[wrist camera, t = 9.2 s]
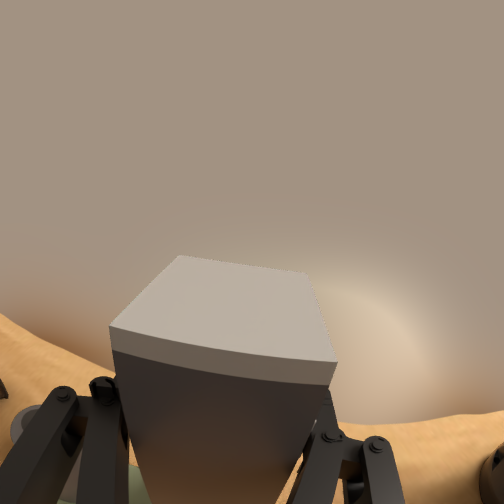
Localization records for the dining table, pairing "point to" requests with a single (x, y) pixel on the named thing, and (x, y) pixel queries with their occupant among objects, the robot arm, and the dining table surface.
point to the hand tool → (3, 390)
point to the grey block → (221, 379)
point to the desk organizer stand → (67, 499)
